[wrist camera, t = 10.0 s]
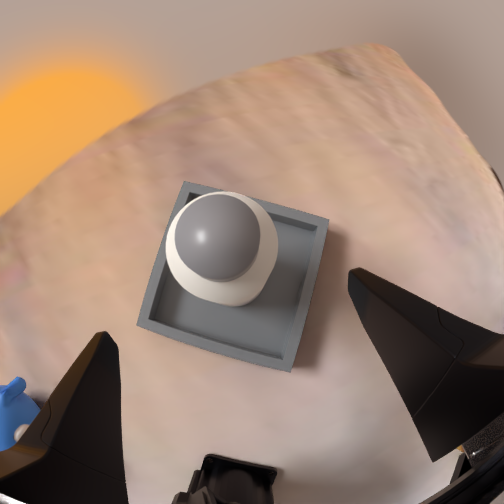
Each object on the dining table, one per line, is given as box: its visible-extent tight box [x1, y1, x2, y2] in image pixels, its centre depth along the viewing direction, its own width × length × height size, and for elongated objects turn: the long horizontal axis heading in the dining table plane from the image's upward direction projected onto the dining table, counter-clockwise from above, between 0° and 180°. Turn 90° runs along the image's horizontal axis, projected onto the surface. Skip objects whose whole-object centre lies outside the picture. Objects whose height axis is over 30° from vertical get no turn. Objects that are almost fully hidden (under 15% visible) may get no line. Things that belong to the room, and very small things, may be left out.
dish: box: [137, 181, 329, 373], centre depth 22 cm, size 12×12×2 cm
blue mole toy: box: [0, 377, 40, 451], centre depth 15 cm, size 12×12×8 cm
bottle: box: [166, 191, 278, 307], centre depth 16 cm, size 5×5×12 cm
